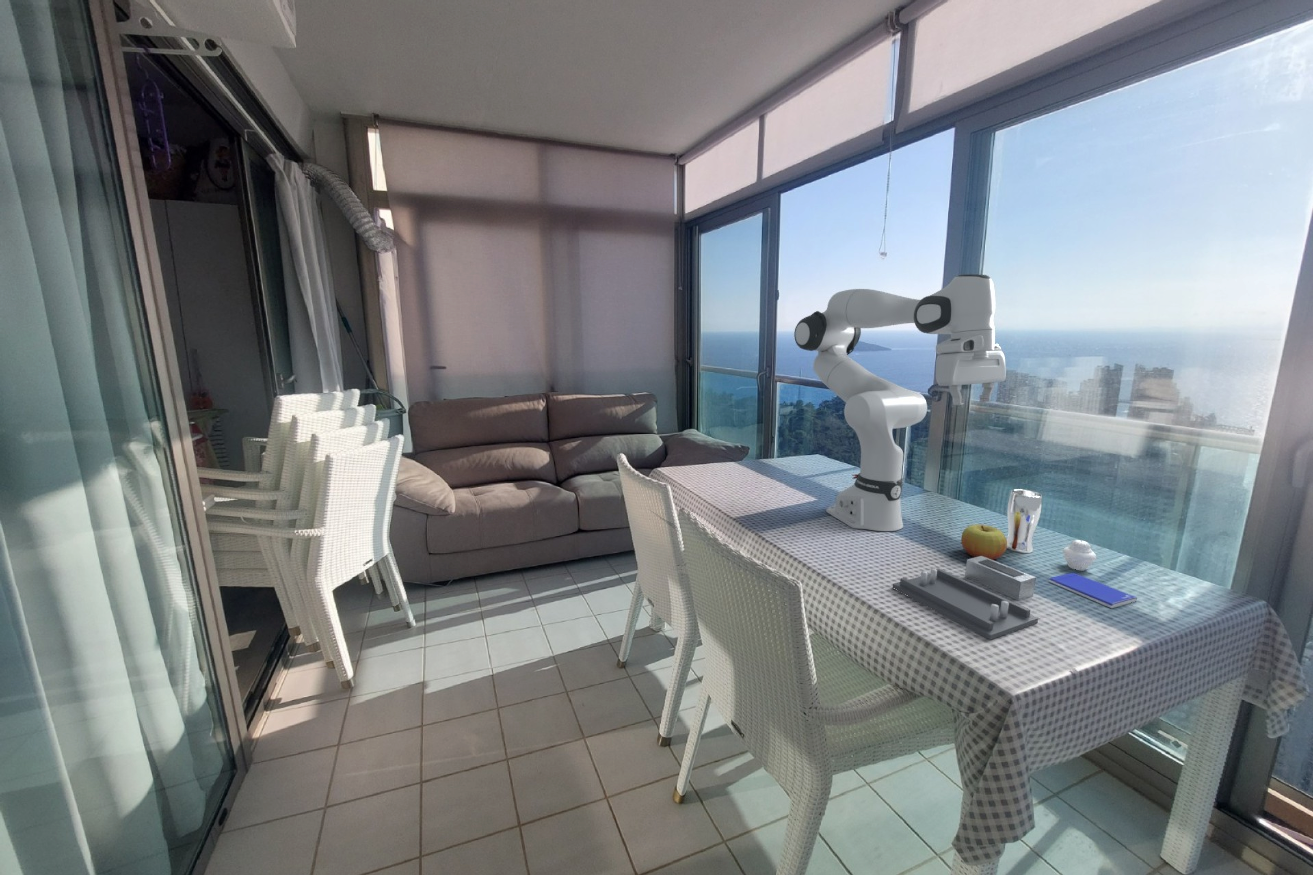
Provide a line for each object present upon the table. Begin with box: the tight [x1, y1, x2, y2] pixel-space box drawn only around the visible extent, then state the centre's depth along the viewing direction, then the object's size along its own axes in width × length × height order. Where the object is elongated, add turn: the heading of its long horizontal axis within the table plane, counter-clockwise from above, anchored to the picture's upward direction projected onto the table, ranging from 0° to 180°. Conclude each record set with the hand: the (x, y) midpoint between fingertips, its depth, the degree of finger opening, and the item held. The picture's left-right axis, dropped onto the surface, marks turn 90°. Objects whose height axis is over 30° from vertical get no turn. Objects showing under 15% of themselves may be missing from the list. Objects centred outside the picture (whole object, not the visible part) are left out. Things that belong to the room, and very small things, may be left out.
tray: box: [892, 568, 1039, 641], centre depth 109 cm, size 22×14×4 cm, turn 25°
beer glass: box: [1006, 488, 1043, 554], centre depth 136 cm, size 7×7×15 cm
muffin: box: [1062, 539, 1097, 572], centre depth 126 cm, size 6×6×7 cm
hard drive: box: [1048, 572, 1138, 609], centre depth 115 cm, size 2×8×12 cm
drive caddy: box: [964, 556, 1037, 601], centre depth 117 cm, size 12×5×5 cm, turn 25°
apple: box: [960, 524, 1007, 560], centre depth 132 cm, size 10×10×8 cm
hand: (971, 403), depth 126 cm, fingers open, 8 cm apart
